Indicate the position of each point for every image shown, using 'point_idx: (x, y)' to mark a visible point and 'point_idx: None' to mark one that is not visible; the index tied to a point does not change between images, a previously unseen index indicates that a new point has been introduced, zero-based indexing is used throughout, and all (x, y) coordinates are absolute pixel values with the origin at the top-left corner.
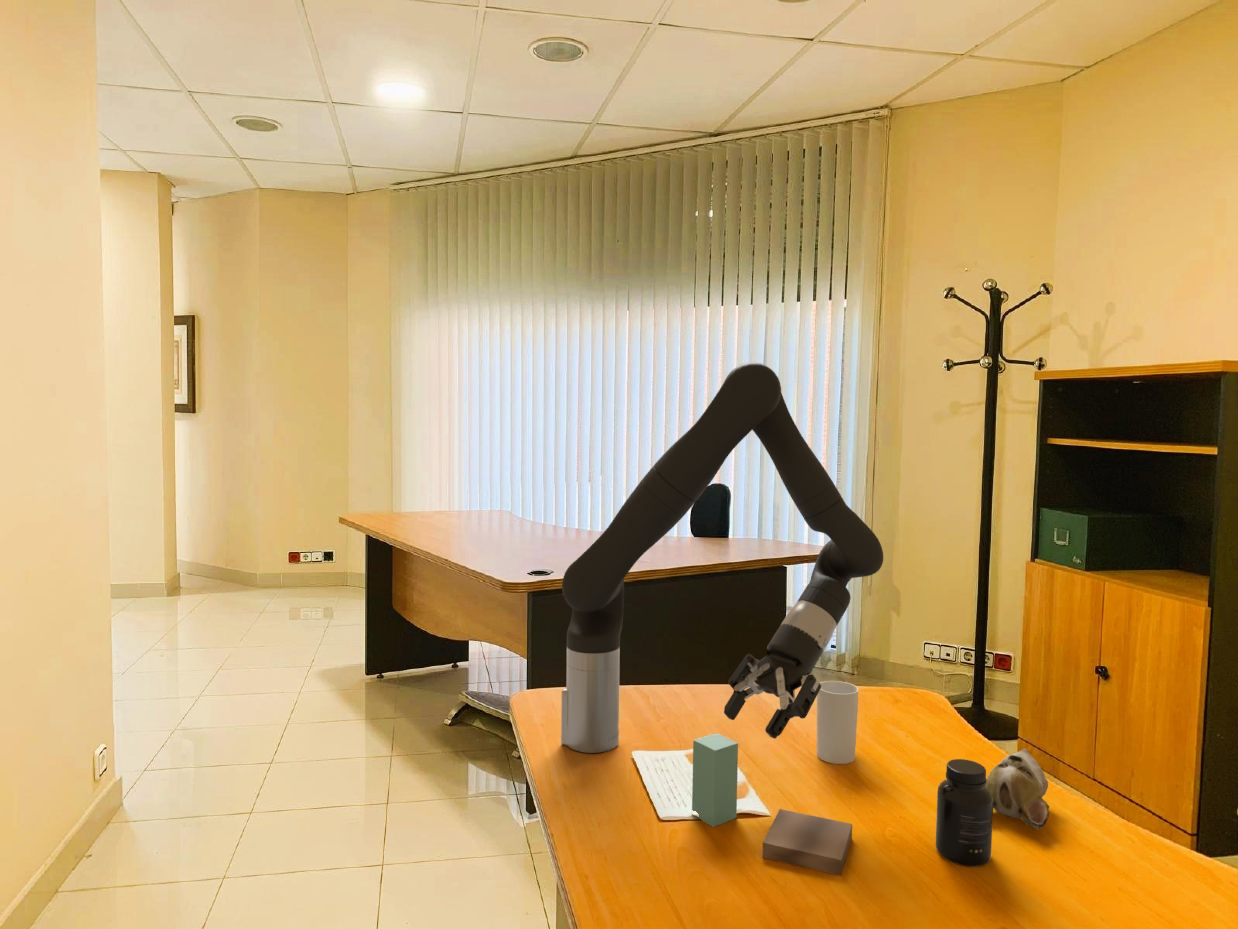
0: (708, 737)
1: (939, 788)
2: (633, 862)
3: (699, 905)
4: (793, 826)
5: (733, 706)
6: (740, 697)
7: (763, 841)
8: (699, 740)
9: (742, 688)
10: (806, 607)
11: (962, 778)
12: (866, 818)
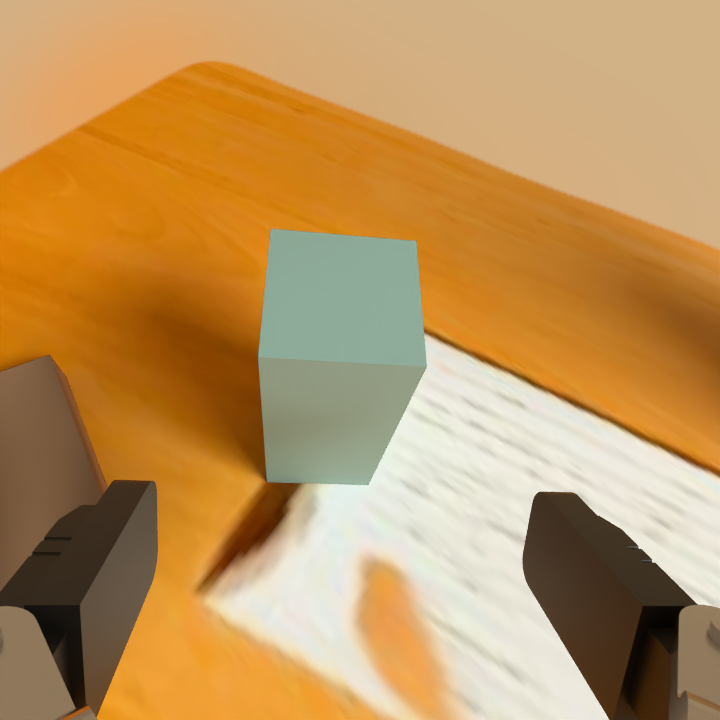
0: (402, 302)
1: None
2: (280, 178)
3: (75, 167)
4: (13, 506)
5: (568, 550)
6: (621, 635)
7: (50, 359)
8: (397, 254)
9: (679, 655)
10: None
11: None
12: None
